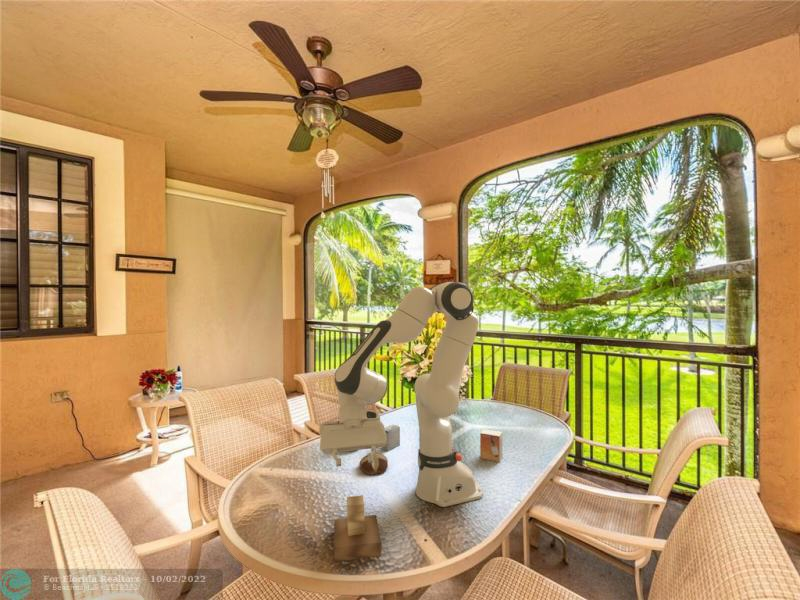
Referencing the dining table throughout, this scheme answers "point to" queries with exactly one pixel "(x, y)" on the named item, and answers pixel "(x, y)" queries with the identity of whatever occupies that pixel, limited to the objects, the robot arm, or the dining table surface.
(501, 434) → the small box
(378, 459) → the bread
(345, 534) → the walnut base block
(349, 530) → the maple block
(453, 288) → the robot arm
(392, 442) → the medicine box
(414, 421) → the dining table surface
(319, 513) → the dining table surface
